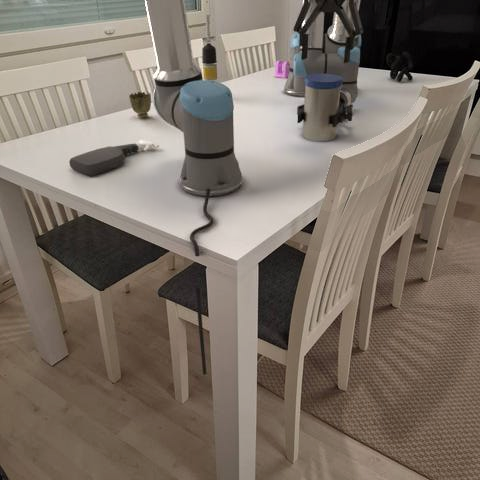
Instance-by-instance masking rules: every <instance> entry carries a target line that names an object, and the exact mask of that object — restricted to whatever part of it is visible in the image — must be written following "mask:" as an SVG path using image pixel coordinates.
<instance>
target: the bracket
mask: <svg viewBox="0 0 480 480" xmlns="http://www.w3.org/2000/svg"><path fill="white" fill-rule="evenodd" d="M274 66H275V67H274V69H275V70H274V77H276V78H284V79H287V78H288V75H289V69H290V60H289V61H288V60H285V61H284V62H283V60H280V59H279V60H276V61H275V65H274Z"/></svg>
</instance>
